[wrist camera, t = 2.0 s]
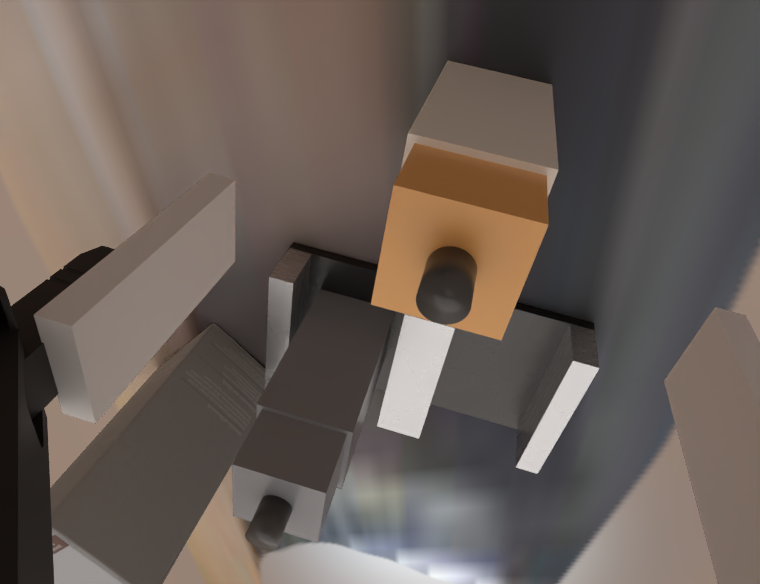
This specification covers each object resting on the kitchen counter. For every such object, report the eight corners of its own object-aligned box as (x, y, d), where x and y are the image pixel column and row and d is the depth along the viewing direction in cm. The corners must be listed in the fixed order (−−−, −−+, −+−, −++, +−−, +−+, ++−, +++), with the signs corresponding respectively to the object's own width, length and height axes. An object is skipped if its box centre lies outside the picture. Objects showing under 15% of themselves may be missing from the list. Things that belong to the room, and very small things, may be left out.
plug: (447, 60, 23) (370, 202, 12) (551, 84, 23) (565, 252, 12) (425, 158, 26) (347, 342, 15) (518, 181, 25) (504, 387, 15)
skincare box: (220, 419, 42) (87, 640, 30) (147, 360, 40) (-31, 571, 27) (287, 379, 37) (163, 619, 25) (208, 310, 35) (30, 535, 23)
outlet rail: (293, 242, 31) (269, 276, 28) (593, 323, 29) (599, 368, 26) (285, 355, 36) (264, 392, 33) (537, 427, 35) (537, 473, 32)
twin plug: (320, 289, 31) (207, 493, 21) (395, 309, 31) (319, 529, 20) (313, 344, 34) (211, 550, 23) (382, 364, 34) (310, 582, 23)
